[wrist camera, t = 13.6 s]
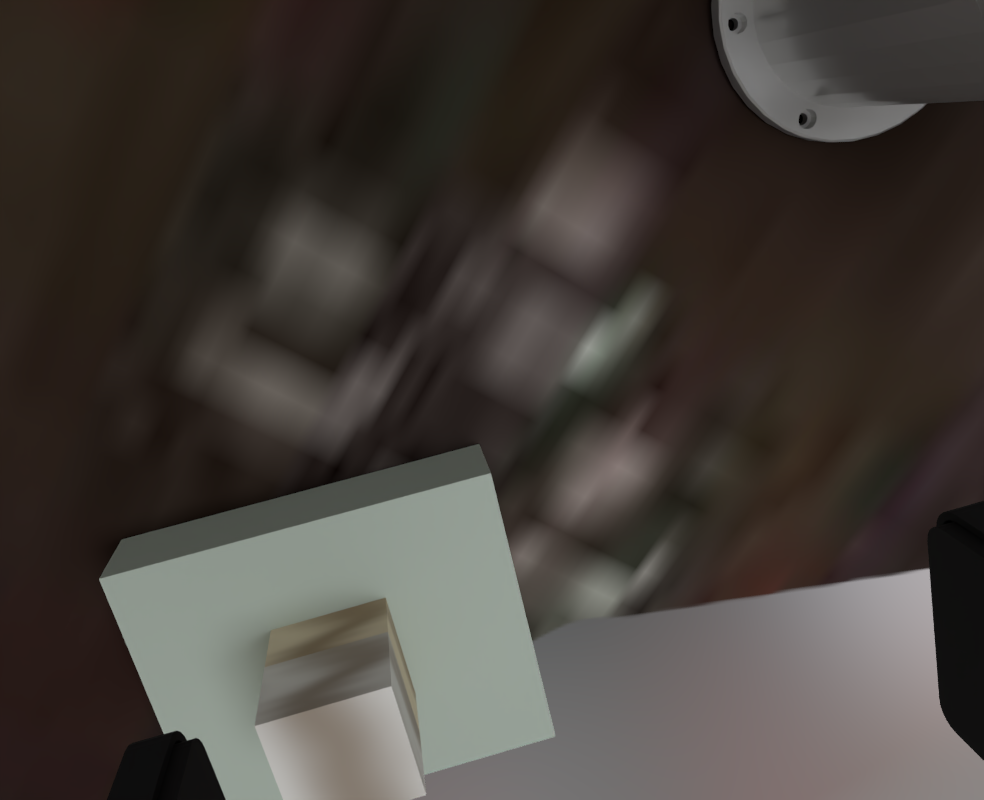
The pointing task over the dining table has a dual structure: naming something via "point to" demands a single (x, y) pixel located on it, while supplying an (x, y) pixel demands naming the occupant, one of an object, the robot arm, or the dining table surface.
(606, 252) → the dining table surface
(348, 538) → the dock
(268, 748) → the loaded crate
